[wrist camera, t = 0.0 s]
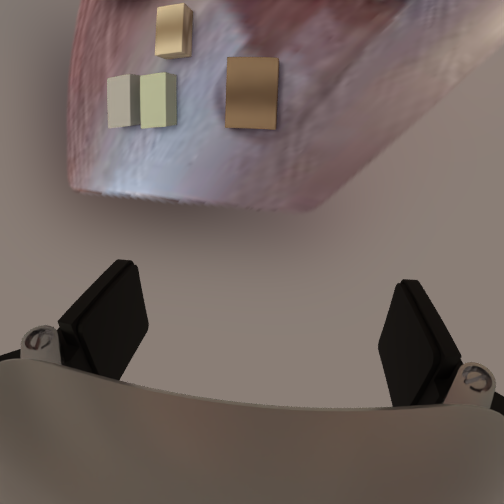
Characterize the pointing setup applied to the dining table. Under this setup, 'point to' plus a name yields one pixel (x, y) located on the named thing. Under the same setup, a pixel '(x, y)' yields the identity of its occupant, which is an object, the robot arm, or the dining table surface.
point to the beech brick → (174, 31)
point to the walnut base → (252, 92)
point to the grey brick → (123, 101)
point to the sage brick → (158, 100)
